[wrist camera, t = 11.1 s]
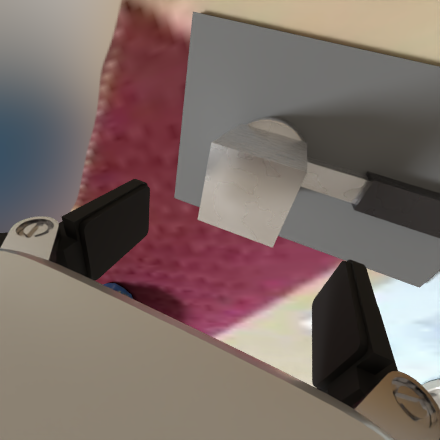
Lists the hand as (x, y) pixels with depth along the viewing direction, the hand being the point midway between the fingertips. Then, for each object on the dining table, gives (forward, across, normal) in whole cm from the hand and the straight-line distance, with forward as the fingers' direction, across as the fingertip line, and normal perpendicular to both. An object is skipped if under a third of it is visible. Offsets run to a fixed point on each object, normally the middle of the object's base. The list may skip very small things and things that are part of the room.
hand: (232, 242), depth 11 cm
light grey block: (+11, +1, 0) cm, 11 cm away
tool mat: (+14, -4, -1) cm, 15 cm away
